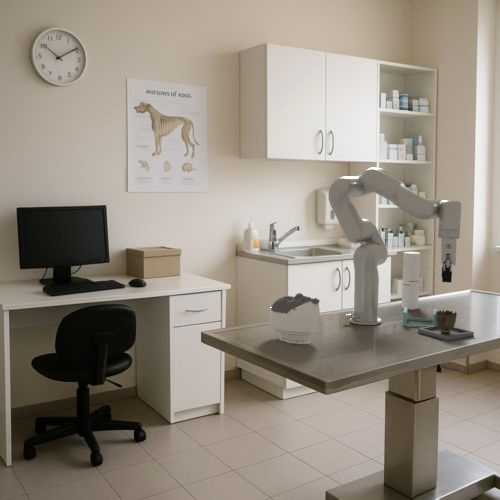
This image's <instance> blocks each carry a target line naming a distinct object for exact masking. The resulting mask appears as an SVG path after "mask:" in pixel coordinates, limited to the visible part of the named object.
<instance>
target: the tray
mask: <svg viewBox="0 0 500 500" xmlns="http://www.w3.org/2000/svg"><path fill="white" fill-rule="evenodd" d="M440 330H441V328H439V327H438V325H435V326H433V325H432V326H429V327H423V328H420V327H417V333H418V334H422V335H423V336H428V337H430V338H434V339H437V340H440V341H444V342H450V341H457V340H463V339H467V338H473V337H474V335H475V332H474V331H473V330H468V329H465V328H461V327H457V326H454V327H453V328H452V329H450V330H451V332H450V333H449V334H444V333H441V331H440Z"/></svg>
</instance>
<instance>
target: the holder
mask: <svg viewBox="0 0 500 500" xmlns="http://www.w3.org/2000/svg"><path fill="white" fill-rule="evenodd" d="M408 310H409V309H408V307H404V308H403V311H402V313H403V314H402V327H407V328H423V327H429V326H435V325H437V320H436V311H437V312H438V308H432V318H419V317H408ZM408 321H415V322H429V323H430V322H431V323H432V325H429V324H428V325H427V324H417V323H416V324H415V323H414V324H413V323H408Z"/></svg>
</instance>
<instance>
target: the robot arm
mask: <svg viewBox="0 0 500 500" xmlns="http://www.w3.org/2000/svg"><path fill="white" fill-rule="evenodd" d="M372 193H375V194H376V195H379V196H380V197H383V199H386V200H388V201H390V203H393V205H395V206H396V207H397V208H399V209H400V210H401V211H403V212H405V213H407V214H409V215H411V216H412V217H414V218H415V219H418V220H422V221H427V220H436V219H438V231H437V233H438V234H437V238H439V239H441V240H440V242H441V243H440V260H441V262H440V263H441V265H442V267H441V278H442V280H441V281H442V283H452V278H453V277H452V276H453V271H452V269H453V268H452V267H455V266H456V263H457V262H456V260H457V240H459V239H460V236H461V235H460V234H461V219H462V218H461V217H462V216H461V215H462V203H461V201H459V200H449V199H448V200H447V199H446V200H445V199H444V200H440V199H435V198H423V197H421V196H420V195H417V194H416V193H414V192H413V191H410V189H408V188H407V187H406V184H405V182H403V181H401V180H399V179H398V178H395V177H393V176H392V175H391V174H390V172H388V170H386V169H385V168H381V167H370V168H367V169H365V170H364V172H362V174H359V175H357V176H342V177H338V178H337V179H335V180H334V181H333V182H332V183H331V185H330V187H329V190H328V200H329V205H330V207H331V209H332V211H333V213H334V215H335V217H336V219H337V221H338V223H339V225H340V228H341V230H342V231H343V234H344V236H345V238H346V239H347V241H349V243H351V244H360V246H358V247H357V248H356V249H355V250H354V253H353V255H352V256H353V258H352V259H353V260H352V262H353V269H354V289H353V290H354V291H353V292H354V293H353V295H354V296H353V300H354V301H353V310H351V312H350V313H345V314H344V319H345V320H349V322H350V323H352V324H353V325H354V324H355V325H360V326H361V325H362V326H375V325H376V326H377V325H380V324H381V323H382V318H379V317H378V315H379V290H380V288H379V286H380V285H379V283H380V282H379V281H380V280H379V278H380V277H379V276H380V275H379V270H378V266H381V265H383V264H384V263H386V262H387V260H388V256H389V253H388V248H387V247H386V246H387V245H386V244H385V241H384V240H383V237H382V236H381V233H380V232H379V230H378V228H377V226H376V225H375V224H374V223H373V222H372V221H371V220H369V219H366V218H361V216H360V214H359V212H358V210H357V208H356V206H355V205H354V204H353V202H352V201H351V199H350V198H360V197H363V196H366V195H369V194H372ZM452 265H453V266H452Z"/></svg>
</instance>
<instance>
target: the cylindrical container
mask: <svg viewBox="0 0 500 500" xmlns="http://www.w3.org/2000/svg"><path fill="white" fill-rule="evenodd" d="M420 263H421V252H418V251H404V252H403V260H402V264H403V265H402V287H401V288H402V289H401V308H402V309H404V307H408V310H417V309H419V291H420V270H421V269H420V266H421V264H420Z"/></svg>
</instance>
